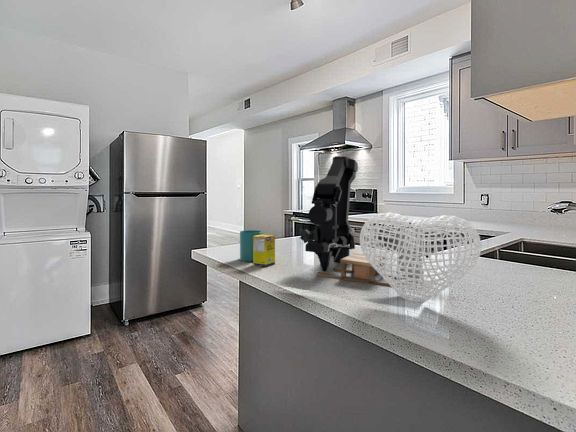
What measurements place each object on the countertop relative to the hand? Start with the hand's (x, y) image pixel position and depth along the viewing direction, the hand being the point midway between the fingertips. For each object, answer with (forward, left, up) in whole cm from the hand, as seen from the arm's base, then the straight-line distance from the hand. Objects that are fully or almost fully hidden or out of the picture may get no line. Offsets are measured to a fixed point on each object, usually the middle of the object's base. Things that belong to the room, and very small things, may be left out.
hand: (326, 270), depth 111 cm
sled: (0, +8, -2) cm, 8 cm away
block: (0, +12, -1) cm, 12 cm away
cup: (-9, -36, -2) cm, 37 cm away
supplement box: (-3, -27, -2) cm, 27 cm away
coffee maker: (-13, +24, -2) cm, 27 cm away
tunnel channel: (0, +12, -2) cm, 12 cm away
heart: (+13, +30, -2) cm, 32 cm away
